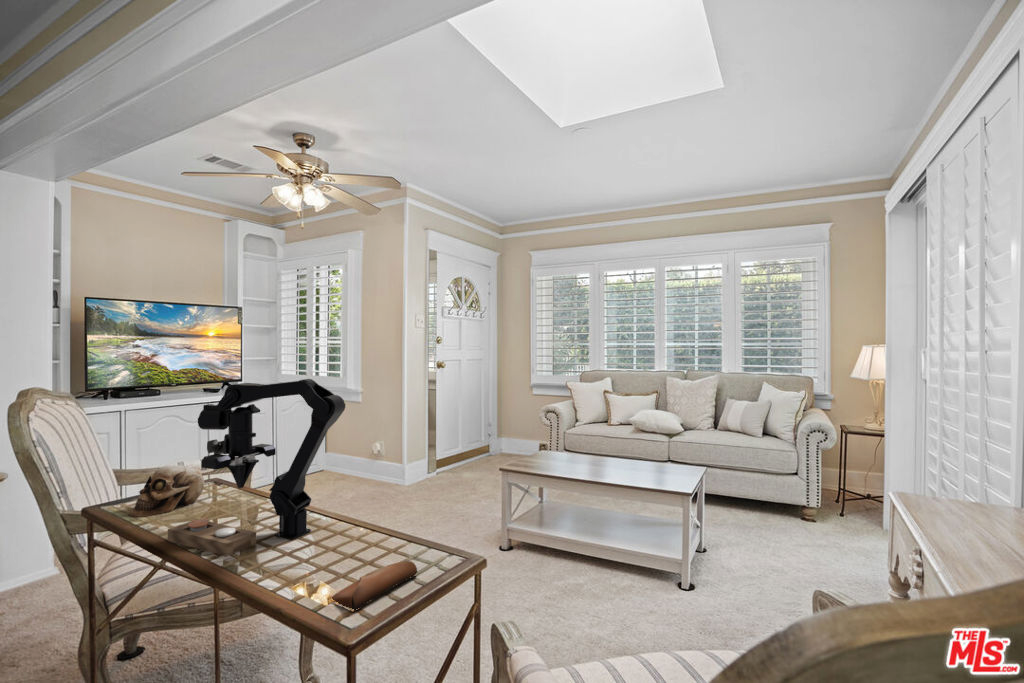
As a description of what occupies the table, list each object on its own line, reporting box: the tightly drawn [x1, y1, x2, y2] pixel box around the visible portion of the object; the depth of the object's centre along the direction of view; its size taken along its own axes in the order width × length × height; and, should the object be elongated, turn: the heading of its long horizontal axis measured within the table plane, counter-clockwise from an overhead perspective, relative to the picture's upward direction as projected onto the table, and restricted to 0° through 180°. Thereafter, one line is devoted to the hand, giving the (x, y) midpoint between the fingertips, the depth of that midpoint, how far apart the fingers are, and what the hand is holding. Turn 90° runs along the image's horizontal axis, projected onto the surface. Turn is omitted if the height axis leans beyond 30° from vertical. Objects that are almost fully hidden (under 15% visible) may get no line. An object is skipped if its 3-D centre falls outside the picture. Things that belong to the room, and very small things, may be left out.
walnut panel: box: [167, 521, 257, 557], centre depth 128 cm, size 22×8×3 cm, turn 67°
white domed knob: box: [215, 527, 236, 539], centre depth 126 cm, size 4×4×4 cm
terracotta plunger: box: [188, 518, 210, 532], centre depth 130 cm, size 4×4×4 cm
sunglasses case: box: [331, 560, 418, 611], centre depth 105 cm, size 18×7×7 cm
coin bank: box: [128, 464, 205, 518], centre depth 156 cm, size 16×17×13 cm
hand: (240, 487), depth 136 cm, fingers closed
